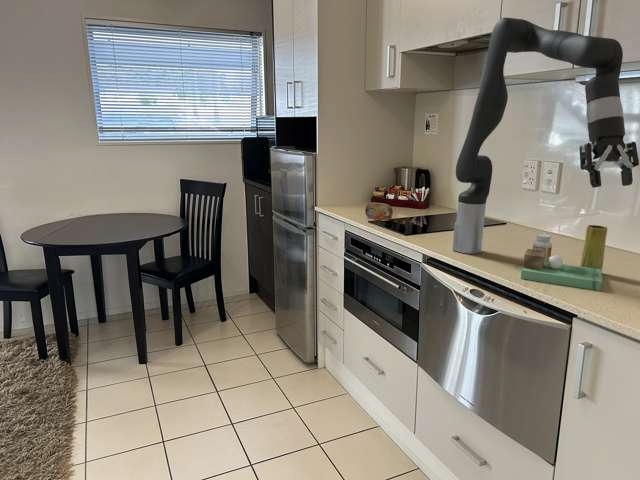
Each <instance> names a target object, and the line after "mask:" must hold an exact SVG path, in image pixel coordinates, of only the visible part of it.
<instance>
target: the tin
mask: <svg viewBox="0 0 640 480" xmlns="http://www.w3.org/2000/svg"><path fill="white" fill-rule="evenodd" d="M393 213H394V211H393V207H392V206H391V205H390V204H387V203H381V202H369V203H368V204H367V205H366V206H365V215H366V217H367V219H368V218H369V219H368V220H370V219H374V220H373V221H375V220H380V221H387V222H390V220H392V219H393V215H394V214H393ZM380 221H379V222H380Z"/></svg>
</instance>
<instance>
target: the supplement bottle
mask: <svg viewBox="0 0 640 480" xmlns="http://www.w3.org/2000/svg"><path fill="white" fill-rule="evenodd" d="M551 238H552V237H551V235H549V234H543V233H540V234H539V233H538V234H536V240H535V241H533V243H532V244H533V245H532V249H533V250H541V251H546V253H545V261H544V262H547V261H548V259H549V257H551V256H552V251H553V250H552V248H553V244H552V242H550V241H551Z"/></svg>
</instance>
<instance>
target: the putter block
mask: <svg viewBox="0 0 640 480" xmlns="http://www.w3.org/2000/svg"><path fill="white" fill-rule="evenodd" d="M545 253H546V251H541V250H533V248H532V249H531V248H527V250H526V251H525V252H524V256H523V262H522V263H523V265H522V269H523V268H528V269H535V270H542V268H543V266H544V261H545Z"/></svg>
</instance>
